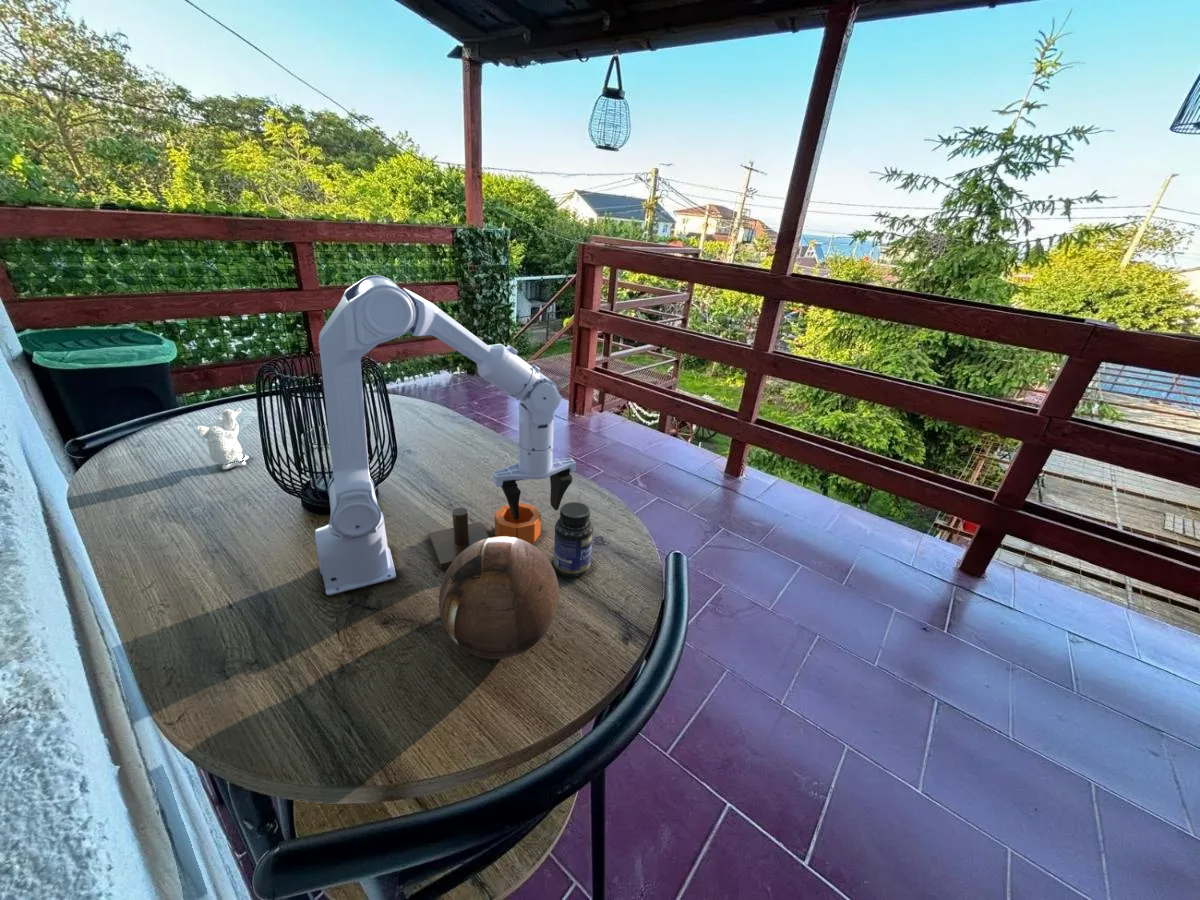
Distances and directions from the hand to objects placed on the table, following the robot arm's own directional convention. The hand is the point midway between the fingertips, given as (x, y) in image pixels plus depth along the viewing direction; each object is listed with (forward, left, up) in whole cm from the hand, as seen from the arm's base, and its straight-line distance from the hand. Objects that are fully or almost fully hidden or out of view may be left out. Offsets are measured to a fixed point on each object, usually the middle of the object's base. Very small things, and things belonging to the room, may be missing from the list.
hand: (535, 511), depth 86 cm
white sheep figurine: (-49, +46, -4) cm, 68 cm away
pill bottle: (+2, -12, -4) cm, 13 cm away
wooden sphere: (-14, -22, -4) cm, 26 cm away
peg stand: (-13, 0, -4) cm, 14 cm away
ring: (-3, 0, -4) cm, 5 cm away
